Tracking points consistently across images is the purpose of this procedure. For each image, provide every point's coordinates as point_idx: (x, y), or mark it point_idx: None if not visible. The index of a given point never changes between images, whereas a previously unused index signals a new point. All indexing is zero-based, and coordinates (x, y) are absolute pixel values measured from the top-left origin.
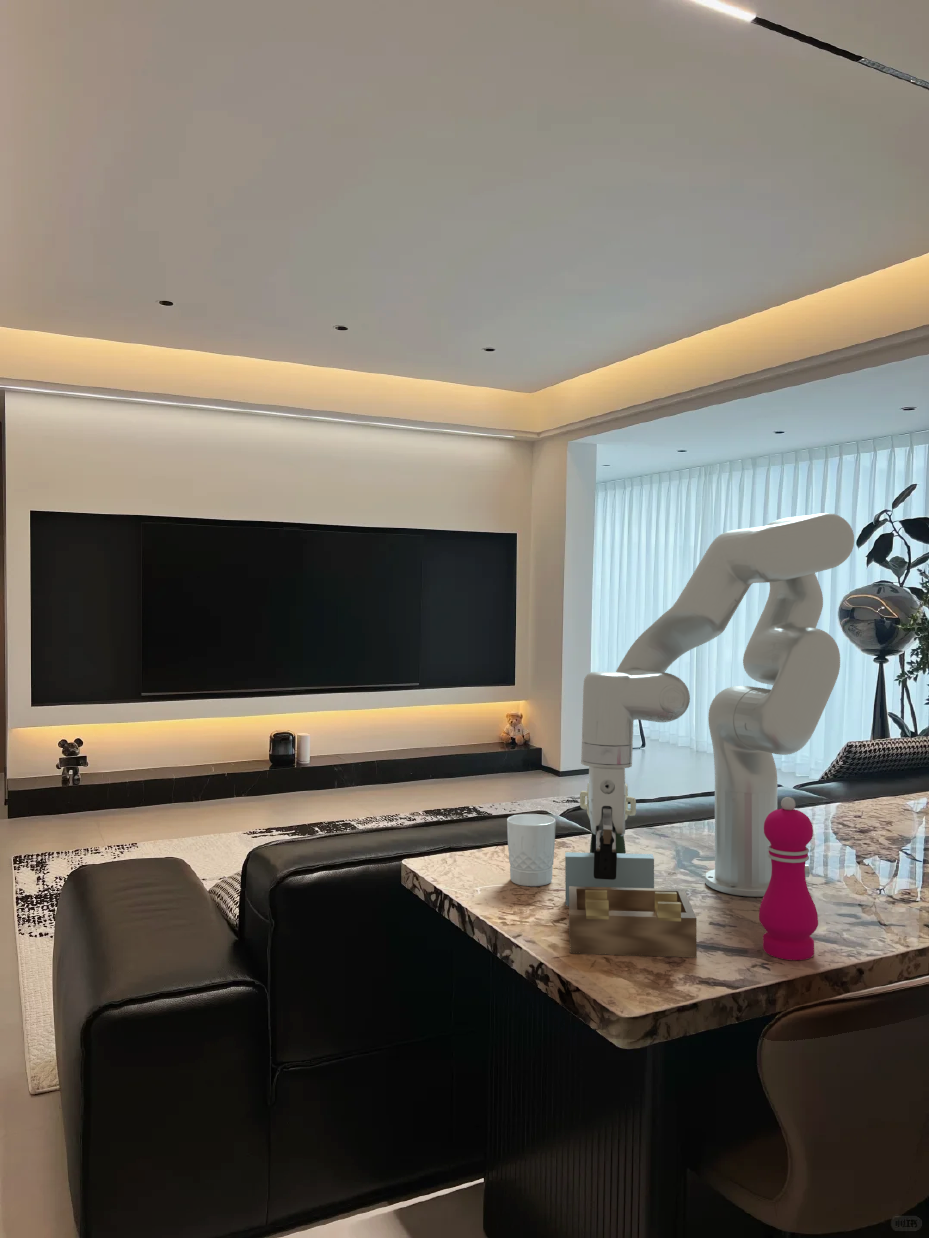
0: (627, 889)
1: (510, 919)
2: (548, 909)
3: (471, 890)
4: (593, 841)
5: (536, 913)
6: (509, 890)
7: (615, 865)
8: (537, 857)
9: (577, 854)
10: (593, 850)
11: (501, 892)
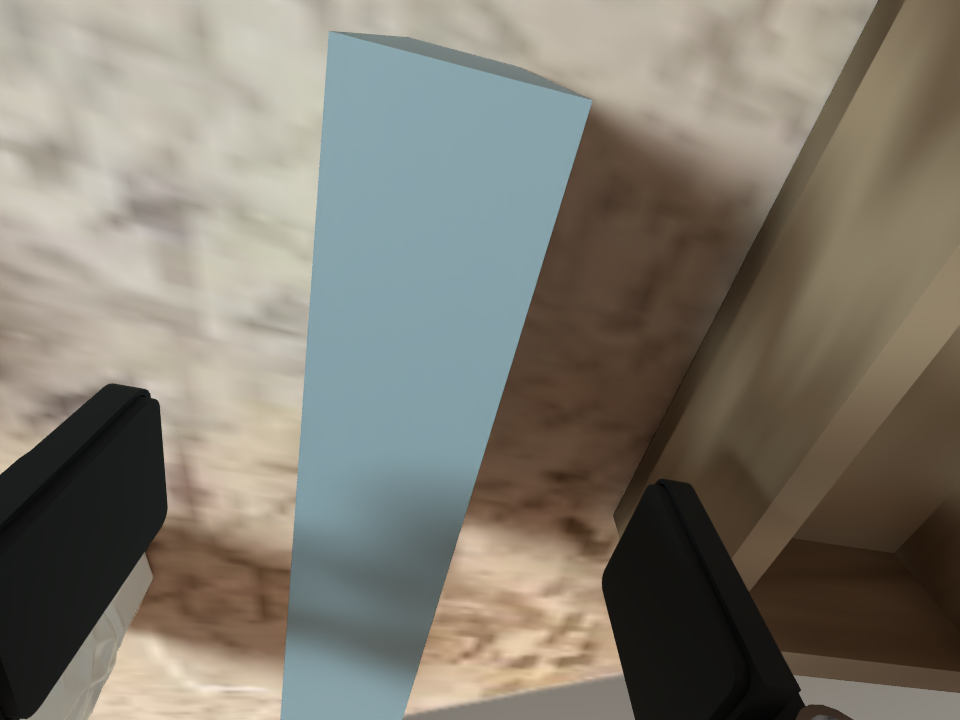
0: (863, 433)
1: (540, 647)
2: (456, 552)
3: (232, 701)
4: (66, 662)
5: (496, 587)
6: (217, 625)
7: (725, 566)
8: (70, 689)
9: (341, 702)
10: (121, 579)
11: (246, 645)
